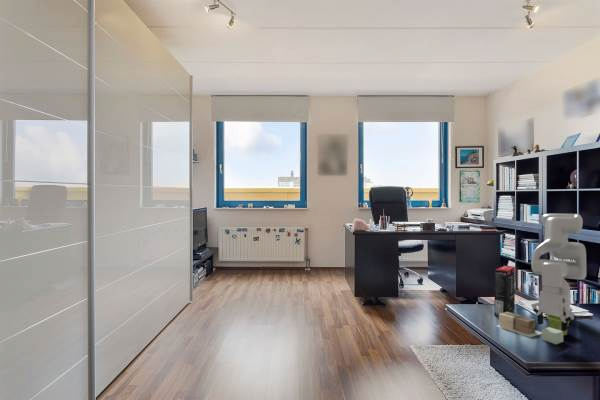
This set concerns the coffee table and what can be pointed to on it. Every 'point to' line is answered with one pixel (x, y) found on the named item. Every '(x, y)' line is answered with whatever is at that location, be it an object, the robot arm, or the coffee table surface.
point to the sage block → (552, 335)
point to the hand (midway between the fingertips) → (552, 327)
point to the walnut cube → (525, 325)
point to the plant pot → (555, 323)
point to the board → (523, 333)
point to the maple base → (508, 320)
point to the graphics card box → (504, 290)
